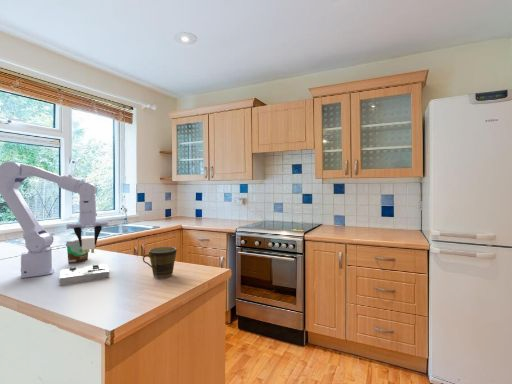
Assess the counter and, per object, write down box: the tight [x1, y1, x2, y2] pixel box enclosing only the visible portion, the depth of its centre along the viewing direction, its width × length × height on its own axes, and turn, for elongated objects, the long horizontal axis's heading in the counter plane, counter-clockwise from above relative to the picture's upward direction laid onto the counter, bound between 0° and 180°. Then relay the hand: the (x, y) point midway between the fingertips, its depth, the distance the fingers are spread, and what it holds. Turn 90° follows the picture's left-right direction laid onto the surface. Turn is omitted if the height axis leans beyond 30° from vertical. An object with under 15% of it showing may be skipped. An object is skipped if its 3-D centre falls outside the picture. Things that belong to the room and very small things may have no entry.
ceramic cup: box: [142, 246, 178, 280], centre depth 106 cm, size 13×10×10 cm
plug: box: [81, 235, 96, 254], centre depth 116 cm, size 4×6×6 cm
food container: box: [65, 238, 89, 265], centre depth 131 cm, size 12×6×10 cm, turn 179°
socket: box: [59, 263, 110, 286], centre depth 106 cm, size 15×12×3 cm
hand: (88, 245), depth 116 cm, fingers closed on plug, 4 cm apart
